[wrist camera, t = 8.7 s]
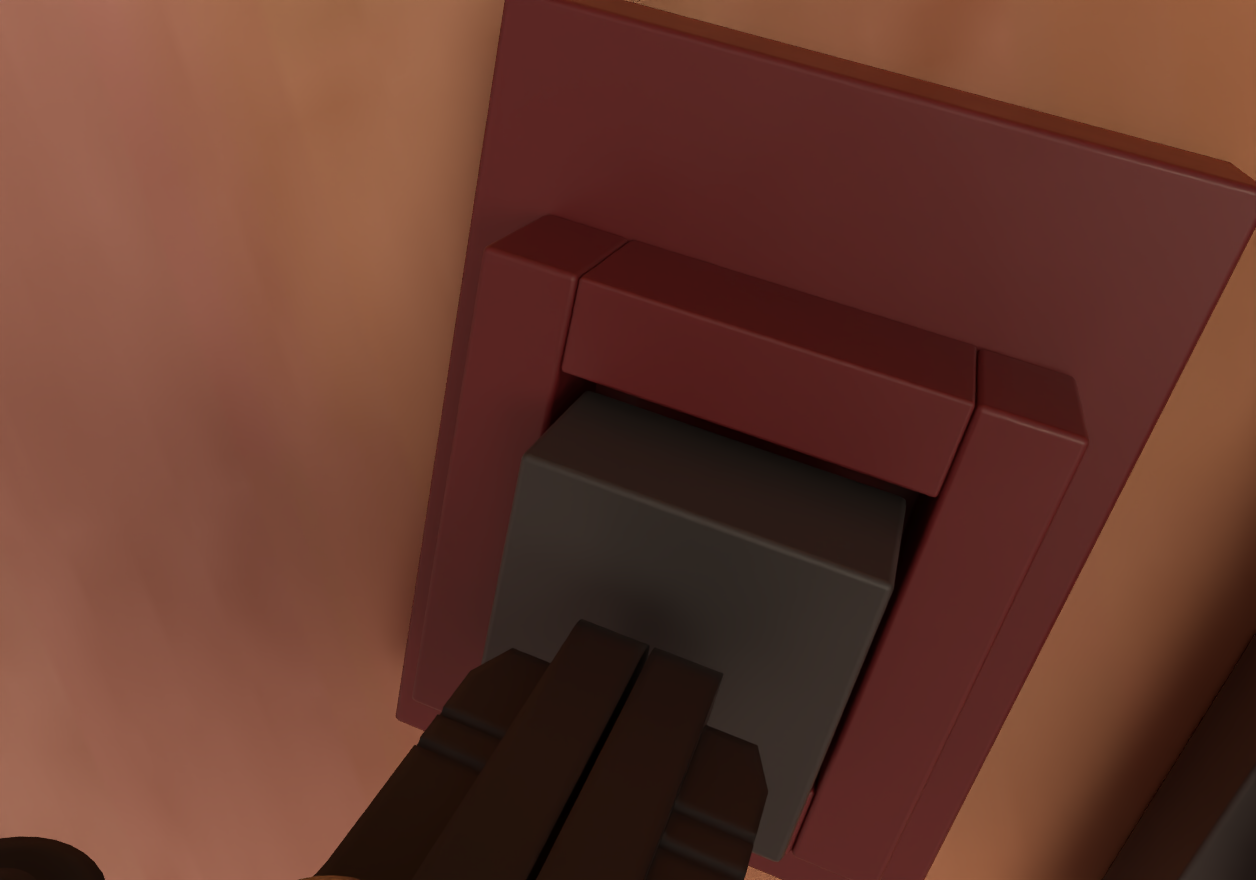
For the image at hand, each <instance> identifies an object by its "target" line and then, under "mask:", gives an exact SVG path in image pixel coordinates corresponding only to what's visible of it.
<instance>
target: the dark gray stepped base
mask: <svg viewBox="0 0 1256 880" xmlns="http://www.w3.org/2000/svg"><path fill="white" fill-rule="evenodd" d="M1103 880H1256V634H1255V636H1254V637H1253V639H1252V640H1251V642H1250V644H1249V645H1248V647H1247V649H1246V650H1245V652H1244V653H1243V655H1242V657H1241V658H1240V660H1239V661H1238V663H1237V665H1236V666H1235V668H1234V669H1233V671H1232V673H1231V674H1230V676H1229V677H1228V679H1227V681H1226V682H1225V684H1224V685H1223V687H1222V689H1221V690H1220V692H1219V694H1218V695H1217V697H1216V698H1215V700H1214V702H1213V703H1212V705H1211V706H1210V708H1209V710H1208V711H1207V713H1206V714H1205V716H1204V718H1203V719H1202V721H1201V722H1200V724H1199V726H1198V727H1197V729H1196V730H1195V732H1194V734H1193V735H1192V737H1191V739H1190V740H1189V742H1188V743H1187V745H1186V747H1185V748H1184V750H1183V751H1182V753H1181V755H1180V756H1179V758H1178V759H1177V761H1176V763H1175V764H1174V766H1173V767H1172V769H1171V771H1170V772H1169V774H1168V775H1167V777H1166V779H1165V780H1164V782H1163V784H1162V785H1161V787H1160V788H1159V790H1158V792H1157V793H1156V795H1155V796H1154V798H1153V800H1152V801H1151V803H1150V804H1149V806H1148V808H1147V809H1146V811H1145V812H1144V814H1143V816H1142V817H1141V819H1140V820H1139V822H1138V824H1137V825H1136V827H1135V829H1134V830H1133V832H1132V833H1131V835H1130V837H1129V838H1128V840H1127V841H1126V843H1125V845H1124V846H1123V848H1122V849H1121V851H1120V853H1119V854H1118V856H1117V857H1116V859H1115V861H1114V862H1113V864H1112V865H1111V867H1110V869H1109V870H1108V872H1107V873H1106V875H1105V877H1104V878H1103Z"/></svg>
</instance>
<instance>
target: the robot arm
mask: <svg viewBox="0 0 1256 880" xmlns="http://www.w3.org/2000/svg"><path fill="white" fill-rule="evenodd" d="M648 654H649V645H648V644H645V643H643V642H640V641H637V640H635V639H632V638H630V637H627V636H625V635H622V634H619V633H617V632H614V631H612V630H609V629H607V628H604V627H601V626H599V625H596V624H594V623H591V622H589V621H586V620H583V619H581V620H579V621H578V622H577V623H576V625H575V626H574V628H573V629H572V631H571V632H570V634H569V635H568V637H567V638H566V640H565V642H564V643H563V645H562V646H561V648H560V649H559V651H558V652H557V654H556V656H555V657H554V659H553V660H552V662H551V663H549V662H547V661H544V660H542V659H539V658H537V657H534V656H532V655H529V654H527V653H524V652H522V651H519V650H517V649H514V648H511V649H509V650H508V651H506V652H504V653H502V654H500V655H498V656H497V657H495V658H493V659H491V660H489V661H487V662H486V663H484V664H482V665H480V666H478V667H476V668H475V669H473V670H471V671H470V672H469V673H468V674H467V676H466V677H465V678H464V680H463V681H462V682H461V684H460V685H459V686H458V688H457V689H456V690H455V692H454V693H453V694H452V696H451V697H450V698H449V700H448V701H447V702H446V704H445V705H444V706H443V709H442V712H441V713H440V715H439V714H437V716H436V717H435V718H434V720H433V721H432V722H431V724H430V725H429V726H428V728H427V729H426V730H425V732H424V733H423V734H422V736H421V737H420V740H419V743H418V744H417V746H416V745H414V746H413V748H412V749H411V750H410V752H409V753H408V754H407V756H406V757H405V758H404V760H403V761H402V762H401V764H400V765H399V766H398V768H397V769H396V770H395V772H394V773H393V774H392V776H391V777H390V778H389V780H388V781H387V782H386V784H385V785H384V786H383V788H382V789H381V790H380V792H379V793H378V794H377V796H376V797H375V798H374V800H373V801H372V802H371V804H370V805H369V806H368V808H367V809H366V810H365V812H364V813H363V814H362V816H361V817H360V818H359V820H358V821H357V822H356V824H355V825H354V826H353V828H352V829H351V830H350V832H349V833H348V834H347V836H346V837H345V838H344V840H343V841H342V842H341V844H340V845H339V846H338V848H337V849H336V850H335V852H334V853H333V854H332V856H331V857H330V858H329V860H328V861H327V862H326V863H325V864H324V865H323V867H322V868H321V869H320V870H319V871H318V872H317V873H316V874H315V875H314V876H313V877H309V878H304V879H299V880H744V878H745V875H746V871H747V868H748V864H749V861H750V857H751V853H752V850H753V846H754V845H753V844H754V841H755V838H756V835H757V831H758V828H759V824H760V821H761V817H762V813H763V810H764V806H765V802H766V799H767V795H768V788H767V784H766V779H765V775H764V771H763V766H762V762H761V758H760V753H759V749H758V745H756V744H753V743H751V742H748V741H746V740H743V739H741V738H738V737H736V736H733V735H731V734H728V733H726V732H723V731H721V730H718V729H715V728H713V727H710V726H708V725H707V723H708V720H709V717H710V714H711V711H712V708H713V705H714V702H715V699H716V696H717V694H718V691H719V688H720V685H721V681H722V678H723V675H724V674H723V673H721V672H718V671H716V670H713V669H710V668H708V667H705V666H703V665H700V664H698V663H695V662H692V661H690V660H687V659H685V658H682V657H679V656H677V655H674V654H672V653H669V652H667V651H664V650H661V649H659V648H656V647H654V649H653V650H652V652H651V653H650V655H649V657H648ZM647 658H648V659H647ZM0 880H105V878H104V876H103V873H102V872H101V870H100V869H99V868H98V866H97V865H96V864H95V862H94V861H93V860H92V859H90V858H89V857H88V856H87V855H86V854H85V853H84V852H82V851H80V850H78V849H76V848H75V847H73V846H71V845H68V844H65V843H62V842H59V841H56V840H52V839H46V838H40V837H10V838H0Z"/></svg>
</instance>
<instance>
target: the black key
mask: <svg viewBox="0 0 1256 880" xmlns="http://www.w3.org/2000/svg"><path fill="white" fill-rule="evenodd" d="M905 511H906V500H905V499H904V498H902V497H900V496H898V495H895V494H892V493H889V492H886V491H883V490H880V489H877V488H874V487H871V486H868V485H865V484H862V483H859V482H856V481H854V480H851V479H848V478H845V477H842V476H839V475H836V474H833V473H830V472H827V471H824V470H821V469H818V468H815V467H812V466H809V465H807V464H804V463H801V462H798V461H795V460H792V459H789V458H786V457H783V456H780V455H777V454H774V453H771V452H768V451H765V450H763V449H760V448H757V447H754V446H751V445H748V444H745V443H742V442H739V441H736V440H733V439H730V438H727V437H724V436H721V435H718V434H716V433H713V432H710V431H707V430H704V429H701V428H698V427H695V426H692V425H689V424H686V423H683V422H680V421H677V420H674V419H671V418H669V417H666V416H663V415H660V414H657V413H654V412H651V411H648V410H645V409H642V408H639V407H636V406H633V405H630V404H627V403H625V402H622V401H619V400H616V399H613V398H610V397H607V396H604V395H601V394H598V393H595V392H592V391H585V392H584V393H583V394H582V395H581V396H580V397H579V398H578V399H577V400H576V401H575V402H574V403H573V404H572V405H571V406H570V407H569V408H568V409H567V410H566V411H565V412H564V413H563V414H562V415H561V416H560V417H559V418H558V419H557V420H556V421H555V423H554V424H553V425H552V426H551V427H550V428H549V429H548V430H547V431H546V432H545V433H544V434H543V435H542V436H541V437H540V438H539V439H538V440H537V441H536V442H535V443H534V444H533V445H532V446H531V447H530V448H529V449H528V450H527V451H526V452H525V453H524V455H523V456H522V458H521V463H520V468H519V473H518V478H517V483H516V488H515V493H514V498H513V504H512V509H511V514H510V519H509V524H508V529H507V534H506V539H505V544H504V549H503V555H502V560H501V565H500V570H499V575H498V580H497V585H496V590H495V595H494V600H493V605H492V611H491V616H490V621H489V626H488V631H487V636H486V641H485V646H484V651H483V656H482V662H481V665H482V664H484V663H486V662H487V661H489V660H491V659H493V658H495V657H497V656H498V655H500V654H502V653H504V652H506V651H508V650H509V649H511V648H514V649H517V650H519V651H522V652H524V653H527V654H529V655H532V656H534V657H537V658H539V659H542V660H544V661H547V662H549V663H551V662H552V660H553V659H554V657H555V656H556V654H557V652H558V651H559V649H560V648H561V646H562V645H563V643H564V642H565V640H566V638H567V637H568V635H569V634H570V632H571V631H572V629H573V628H574V626H575V625H576V623H577V622H578V621H579V620H581V619H583V620H586V621H589V622H591V623H594V624H596V625H599V626H601V627H604V628H607V629H609V630H612V631H614V632H617V633H619V634H622V635H625V636H627V637H630V638H632V639H635V640H637V641H640V642H643V643H645V644H648V645H649V654H648V657H649V655H650V653H651V652H652V650H653V649H654V647H656V648H659V649H661V650H664V651H667V652H669V653H672V654H674V655H677V656H679V657H682V658H685V659H687V660H690V661H692V662H695V663H698V664H700V665H703V666H705V667H708V668H710V669H713V670H716V671H718V672H721V673H723V674H724V675H723V678H722V681H721V685H720V688H719V691H718V694H717V696H716V699H715V702H714V705H713V708H712V711H711V714H710V717H709V720H708V723H707V725H708V726H710V727H713V728H715V729H718V730H721V731H723V732H726V733H728V734H731V735H733V736H736V737H738V738H741V739H743V740H746V741H748V742H751V743H753V744H756V745H758V749H759V753H760V758H761V762H762V766H763V771H764V775H765V779H766V784H767V788H768V795H767V799H766V802H765V806H764V810H763V813H762V817H761V821H760V824H759V828H758V831H757V835H756V838H755V841H754V844H753V845H754V846H753V850H752V853H754V854H757V855H759V856H761V857H764V858H766V859H769V860H771V861H773V862H779V861H780V860H781V859H782V858H783V857H784V855H785V852H786V850H787V847H788V845H789V842H790V840H791V838H792V835H793V833H794V830H795V828H796V825H797V823H798V821H799V818H800V816H801V813H802V811H803V808H804V806H805V804H806V801H807V799H808V796H809V794H810V791H811V789H812V787H813V784H814V782H815V779H816V777H817V774H818V772H819V770H820V767H821V765H822V762H823V760H824V757H825V755H826V753H827V750H828V748H829V745H830V743H831V740H832V738H833V736H834V733H835V731H836V728H837V726H838V723H839V721H840V719H841V716H842V714H843V711H844V709H845V706H846V704H847V702H848V699H849V697H850V694H851V692H852V689H853V687H854V685H855V682H856V680H857V677H858V675H859V672H860V670H861V668H862V665H863V663H864V660H865V658H866V655H867V653H868V651H869V648H870V646H871V643H872V641H873V638H874V636H875V634H876V631H877V629H878V626H879V624H880V621H881V619H882V616H883V614H884V612H885V609H886V607H887V604H888V602H889V599H890V597H891V595H892V592H893V590H894V583H895V576H896V570H897V563H898V557H899V550H900V543H901V537H902V530H903V524H904V517H905ZM647 659H648V658H647Z"/></svg>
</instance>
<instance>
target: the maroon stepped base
mask: <svg viewBox="0 0 1256 880" xmlns="http://www.w3.org/2000/svg"><path fill="white" fill-rule="evenodd" d="M1255 228H1256V181H1254V180H1253V179H1252V178H1250V177H1249V176H1248V175H1246V174H1245V173H1244V172H1242V171H1241V170H1239V169H1238V168H1237V167H1235V166H1234V165H1233V164H1231V163H1230V162H1226V161H1222V160H1219V159H1215V158H1211V157H1207V156H1204V155H1200V154H1196V153H1192V152H1189V151H1185V150H1181V149H1177V148H1174V147H1170V146H1166V145H1163V144H1159V143H1155V142H1151V141H1148V140H1144V139H1140V138H1136V137H1133V136H1129V135H1125V134H1121V133H1118V132H1114V131H1110V130H1106V129H1103V128H1099V127H1095V126H1092V125H1088V124H1084V123H1080V122H1077V121H1073V120H1069V119H1065V118H1062V117H1058V116H1054V115H1050V114H1047V113H1043V112H1039V111H1035V110H1032V109H1028V108H1024V107H1021V106H1017V105H1013V104H1009V103H1006V102H1002V101H998V100H994V99H991V98H987V97H983V96H979V95H976V94H972V93H968V92H964V91H961V90H957V89H953V88H950V87H946V86H942V85H938V84H935V83H931V82H927V81H923V80H920V79H916V78H912V77H908V76H905V75H901V74H897V73H893V72H890V71H886V70H882V69H879V68H875V67H871V66H867V65H864V64H860V63H856V62H852V61H849V60H845V59H841V58H837V57H834V56H830V55H826V54H822V53H819V52H815V51H811V50H808V49H804V48H800V47H796V46H793V45H789V44H785V43H781V42H778V41H774V40H770V39H766V38H763V37H759V36H755V35H751V34H748V33H744V32H740V31H736V30H733V29H729V28H725V27H722V26H718V25H714V24H710V23H707V22H703V21H699V20H695V19H692V18H688V17H684V16H680V15H677V14H673V13H669V12H665V11H662V10H658V9H654V8H651V7H647V6H643V5H639V4H636V3H632V2H628V1H624V0H505V3H504V10H503V16H502V23H501V29H500V36H499V42H498V49H497V56H496V62H495V69H494V75H493V82H492V88H491V95H490V101H489V108H488V115H487V121H486V128H485V134H484V141H483V147H482V154H481V160H480V167H479V174H478V180H477V187H476V193H475V200H474V206H473V213H472V219H471V226H470V232H469V239H468V246H467V252H466V259H465V265H464V272H463V278H462V285H461V291H460V298H459V305H458V311H457V318H456V324H455V331H454V337H453V344H452V350H451V357H450V364H449V370H448V377H447V383H446V390H445V396H444V403H443V409H442V416H441V422H440V429H439V436H438V442H437V449H436V455H435V462H434V468H433V475H432V481H431V488H430V495H429V501H428V508H427V514H426V521H425V527H424V534H423V540H422V547H421V554H420V560H419V567H418V573H417V580H416V586H415V593H414V599H413V606H412V612H411V619H410V626H409V632H408V639H407V645H406V652H405V658H404V665H403V671H402V678H401V685H400V691H399V698H398V704H397V711H396V718H397V719H398V720H399V721H402V722H404V723H406V724H409V725H411V726H414V727H416V728H419V729H421V730H423V731H425V730H426V729H427V728H428V726H429V725H430V724H431V722H432V721H433V720H434V718H435V717H436V716H437V714H439V715H440V713H441V712H442V709H443V706H444V705H445V704H446V702H447V701H448V700H449V698H450V697H451V696H452V694H453V693H454V692H455V690H456V689H457V688H458V686H459V685H460V684H461V682H462V681H463V680H464V678H465V677H466V676H467V674H468V673H469V672H470V671H471V670H473V669H475V668H476V667H478V666H480V665H481V662H482V656H483V651H484V646H485V641H486V636H487V631H488V626H489V621H490V616H491V611H492V605H493V600H494V595H495V590H496V585H497V580H498V575H499V570H500V565H501V560H502V555H503V549H504V544H505V539H506V534H507V529H508V524H509V519H510V514H511V509H512V504H513V498H514V493H515V488H516V483H517V478H518V473H519V468H520V463H521V458H522V456H523V455H524V453H525V452H526V451H527V450H528V449H529V448H530V447H531V446H532V445H533V444H534V443H535V442H536V441H537V440H538V439H539V438H540V437H541V436H542V435H543V434H544V433H545V432H546V431H547V430H548V429H549V428H550V427H551V426H552V425H553V424H554V423H555V421H556V420H557V419H558V418H559V417H560V416H561V415H562V414H563V413H564V412H565V411H566V410H567V409H568V408H569V407H570V406H571V405H572V404H573V403H574V402H575V401H576V400H577V399H578V398H579V397H580V396H581V395H582V394H583V393H584V392H585V391H592V392H595V393H598V394H601V395H604V396H607V397H610V398H613V399H616V400H619V401H622V402H625V403H627V404H630V405H633V406H636V407H639V408H642V409H645V410H648V411H651V412H654V413H657V414H660V415H663V416H666V417H669V418H671V419H674V420H677V421H680V422H683V423H686V424H689V425H692V426H695V427H698V428H701V429H704V430H707V431H710V432H713V433H716V434H718V435H721V436H724V437H727V438H730V439H733V440H736V441H739V442H742V443H745V444H748V445H751V446H754V447H757V448H760V449H763V450H765V451H768V452H771V453H774V454H777V455H780V456H783V457H786V458H789V459H792V460H795V461H798V462H801V463H804V464H807V465H809V466H812V467H815V468H818V469H821V470H824V471H827V472H830V473H833V474H836V475H839V476H842V477H845V478H848V479H851V480H854V481H856V482H859V483H862V484H865V485H868V486H871V487H874V488H877V489H880V490H883V491H886V492H889V493H892V494H895V495H898V496H900V497H902V498H904V499H905V500H906V511H905V517H904V524H903V530H902V537H901V543H900V550H899V557H898V563H897V570H896V576H895V583H894V590H893V592H892V595H891V597H890V599H889V602H888V604H887V607H886V609H885V612H884V614H883V616H882V619H881V621H880V624H879V626H878V629H877V631H876V634H875V636H874V638H873V641H872V643H871V646H870V648H869V651H868V653H867V655H866V658H865V660H864V663H863V665H862V668H861V670H860V672H859V675H858V677H857V680H856V682H855V685H854V687H853V689H852V692H851V694H850V697H849V699H848V702H847V704H846V706H845V709H844V711H843V714H842V716H841V719H840V721H839V723H838V726H837V728H836V731H835V733H834V736H833V738H832V740H831V743H830V745H829V748H828V750H827V753H826V755H825V757H824V760H823V762H822V765H821V767H820V770H819V772H818V774H817V777H816V779H815V782H814V784H813V787H812V789H811V791H810V794H809V796H808V799H807V801H806V804H805V806H804V808H803V811H802V813H801V816H800V818H799V821H798V823H797V825H796V828H795V830H794V833H793V835H792V838H791V840H790V842H789V845H788V847H787V850H786V852H785V855H784V857H783V858H782V859H781V860H780V861H779V862H773V861H771V860H769V859H766V858H764V857H761V856H759V855H757V854H754V853H751V857H750V861H749V864H748V866H751V867H753V868H756V869H758V870H760V871H763V872H765V873H768V874H770V875H772V876H775V877H777V878H780V879H782V880H924V879H925V877H926V875H927V873H928V871H929V870H930V868H931V866H932V864H933V862H934V860H935V858H936V856H937V854H938V852H939V850H940V848H941V846H942V844H943V842H944V840H945V838H946V836H947V834H948V832H949V830H950V828H951V826H952V824H953V822H954V820H955V818H956V816H957V814H958V812H959V810H960V808H961V807H962V805H963V803H964V801H965V799H966V797H967V795H968V793H969V791H970V789H971V787H972V785H973V783H974V781H975V779H976V777H977V775H978V773H979V771H980V769H981V767H982V765H983V763H984V761H985V759H986V757H987V755H988V753H989V751H990V749H991V747H992V745H993V744H994V742H995V740H996V738H997V736H998V734H999V732H1000V730H1001V728H1002V726H1003V724H1004V722H1005V720H1006V718H1007V716H1008V714H1009V712H1010V710H1011V708H1012V706H1013V704H1014V702H1015V700H1016V698H1017V696H1018V694H1019V692H1020V690H1021V688H1022V686H1023V684H1024V682H1025V680H1026V679H1027V677H1028V675H1029V673H1030V671H1031V669H1032V667H1033V665H1034V663H1035V661H1036V659H1037V657H1038V655H1039V653H1040V651H1041V649H1042V647H1043V645H1044V643H1045V641H1046V639H1047V637H1048V635H1049V633H1050V631H1051V629H1052V627H1053V625H1054V623H1055V621H1056V619H1057V617H1058V616H1059V614H1060V612H1061V610H1062V608H1063V606H1064V604H1065V602H1066V600H1067V598H1068V596H1069V594H1070V592H1071V590H1072V588H1073V586H1074V584H1075V582H1076V580H1077V578H1078V576H1079V574H1080V572H1081V570H1082V568H1083V566H1084V564H1085V562H1086V560H1087V558H1088V556H1089V554H1090V553H1091V551H1092V549H1093V547H1094V545H1095V543H1096V541H1097V539H1098V537H1099V535H1100V533H1101V531H1102V529H1103V527H1104V525H1105V523H1106V521H1107V519H1108V517H1109V515H1110V513H1111V511H1112V509H1113V507H1114V505H1115V503H1116V501H1117V499H1118V497H1119V495H1120V493H1121V491H1122V489H1123V488H1124V486H1125V484H1126V482H1127V480H1128V478H1129V476H1130V474H1131V472H1132V470H1133V468H1134V466H1135V464H1136V462H1137V460H1138V458H1139V456H1140V454H1141V452H1142V450H1143V448H1144V446H1145V444H1146V442H1147V440H1148V438H1149V436H1150V434H1151V432H1152V430H1153V428H1154V426H1155V425H1156V423H1157V421H1158V419H1159V417H1160V415H1161V413H1162V411H1163V409H1164V407H1165V405H1166V403H1167V401H1168V399H1169V397H1170V395H1171V393H1172V391H1173V389H1174V387H1175V385H1176V383H1177V381H1178V379H1179V377H1180V375H1181V373H1182V371H1183V369H1184V367H1185V365H1186V363H1187V362H1188V360H1189V358H1190V356H1191V354H1192V352H1193V350H1194V348H1195V346H1196V344H1197V342H1198V340H1199V338H1200V336H1201V334H1202V332H1203V330H1204V328H1205V326H1206V324H1207V322H1208V320H1209V318H1210V316H1211V314H1212V312H1213V310H1214V308H1215V306H1216V304H1217V302H1218V300H1219V298H1220V297H1221V295H1222V293H1223V291H1224V289H1225V287H1226V285H1227V283H1228V281H1229V279H1230V277H1231V275H1232V273H1233V271H1234V269H1235V267H1236V265H1237V263H1238V261H1239V259H1240V257H1241V255H1242V253H1243V251H1244V249H1245V247H1246V245H1247V243H1248V241H1249V239H1250V237H1251V235H1252V234H1253V232H1254V230H1255Z"/></svg>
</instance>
